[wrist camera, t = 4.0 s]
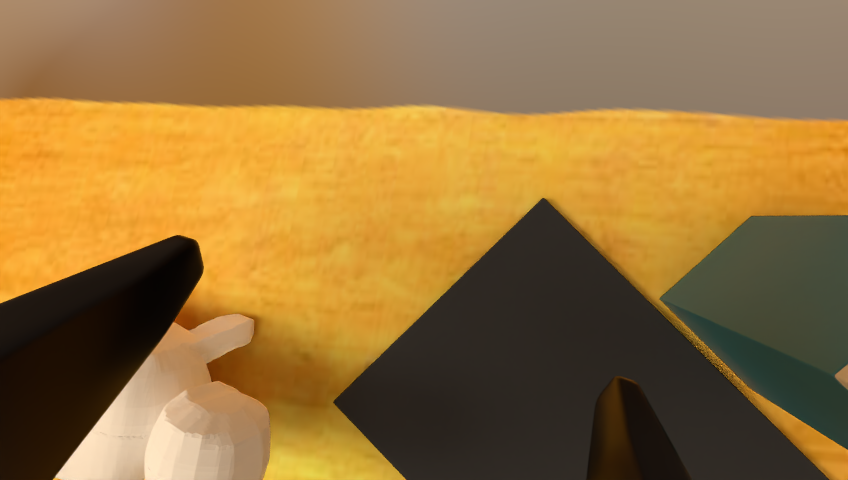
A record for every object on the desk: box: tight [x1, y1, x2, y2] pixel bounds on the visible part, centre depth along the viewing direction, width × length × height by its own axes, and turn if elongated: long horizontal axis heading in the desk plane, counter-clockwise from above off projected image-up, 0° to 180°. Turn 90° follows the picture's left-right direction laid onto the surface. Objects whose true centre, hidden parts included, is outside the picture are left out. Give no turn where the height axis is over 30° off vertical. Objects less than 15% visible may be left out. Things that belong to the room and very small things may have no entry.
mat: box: [333, 198, 829, 480], centre depth 24 cm, size 16×22×1 cm
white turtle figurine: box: [55, 314, 270, 480], centre depth 23 cm, size 9×8×15 cm
